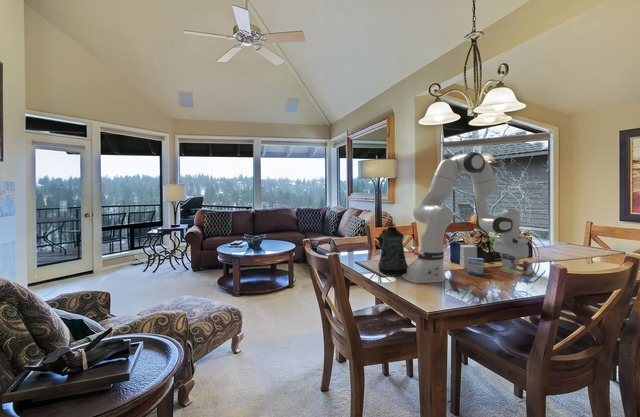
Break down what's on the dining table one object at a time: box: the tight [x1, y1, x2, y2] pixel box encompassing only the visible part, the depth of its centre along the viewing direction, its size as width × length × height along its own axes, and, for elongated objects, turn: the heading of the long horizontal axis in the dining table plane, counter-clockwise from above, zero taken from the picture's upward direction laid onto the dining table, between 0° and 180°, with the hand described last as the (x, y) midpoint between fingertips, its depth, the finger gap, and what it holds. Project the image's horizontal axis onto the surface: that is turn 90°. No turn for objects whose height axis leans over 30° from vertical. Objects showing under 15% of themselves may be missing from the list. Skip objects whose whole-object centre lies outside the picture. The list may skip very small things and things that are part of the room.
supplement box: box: [459, 244, 478, 269], centre depth 192 cm, size 7×7×13 cm
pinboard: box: [498, 260, 536, 276], centre depth 181 cm, size 12×12×6 cm
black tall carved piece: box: [377, 226, 409, 276], centre depth 187 cm, size 16×19×25 cm
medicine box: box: [466, 257, 485, 276], centre depth 178 cm, size 8×4×9 cm, turn 62°
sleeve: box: [501, 254, 518, 270], centre depth 183 cm, size 5×5×7 cm
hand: (509, 262), depth 183 cm, fingers open, 6 cm apart
